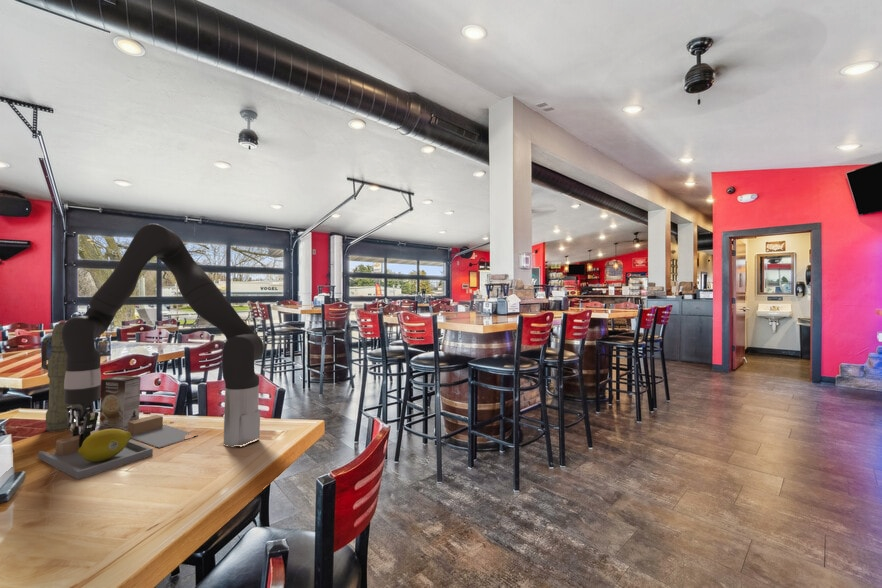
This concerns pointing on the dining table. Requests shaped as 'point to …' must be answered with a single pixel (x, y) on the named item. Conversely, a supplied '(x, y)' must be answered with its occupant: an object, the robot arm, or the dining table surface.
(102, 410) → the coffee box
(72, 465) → the gray tray
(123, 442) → the lemon
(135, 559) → the dining table surface
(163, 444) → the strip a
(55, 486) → the dining table surface
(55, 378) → the thermos
